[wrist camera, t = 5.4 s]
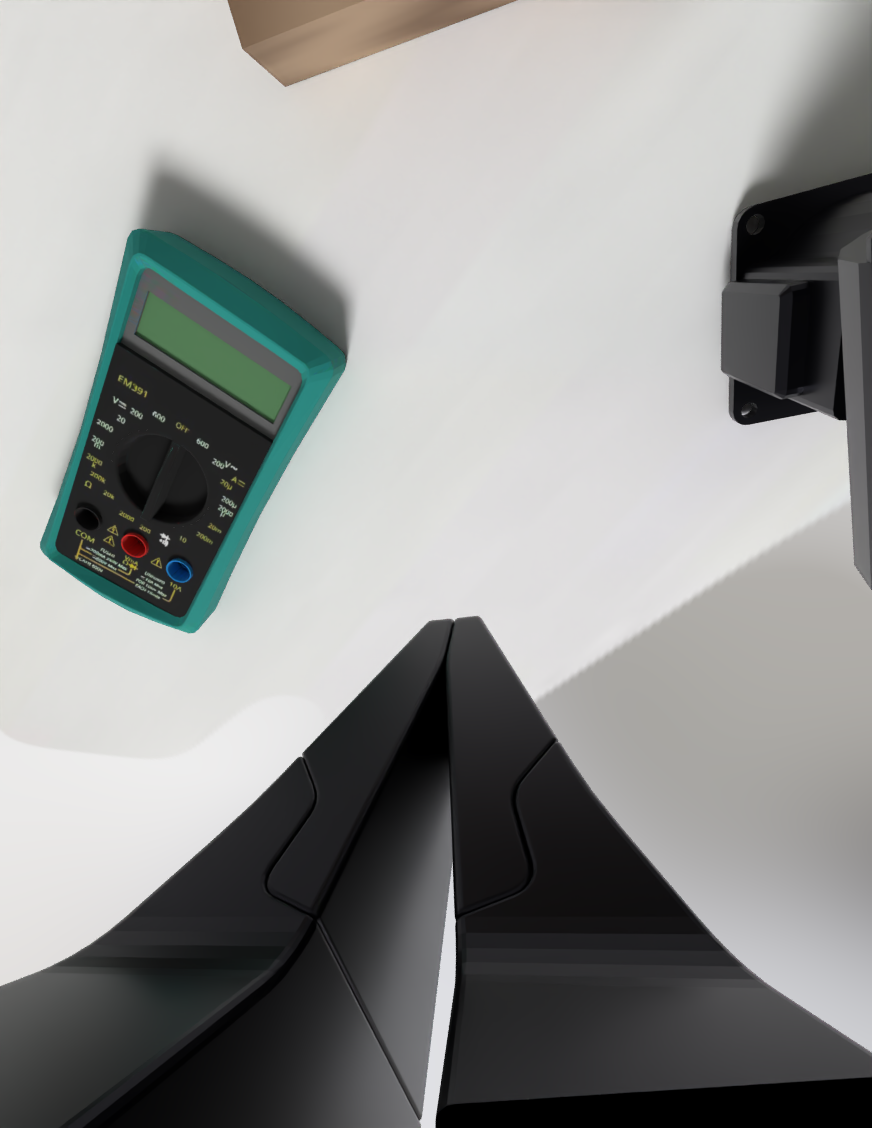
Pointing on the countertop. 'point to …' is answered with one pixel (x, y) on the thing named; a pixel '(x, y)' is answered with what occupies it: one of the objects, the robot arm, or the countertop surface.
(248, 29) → the knob console
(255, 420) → the digital multimeter
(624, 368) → the countertop surface
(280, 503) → the countertop surface
